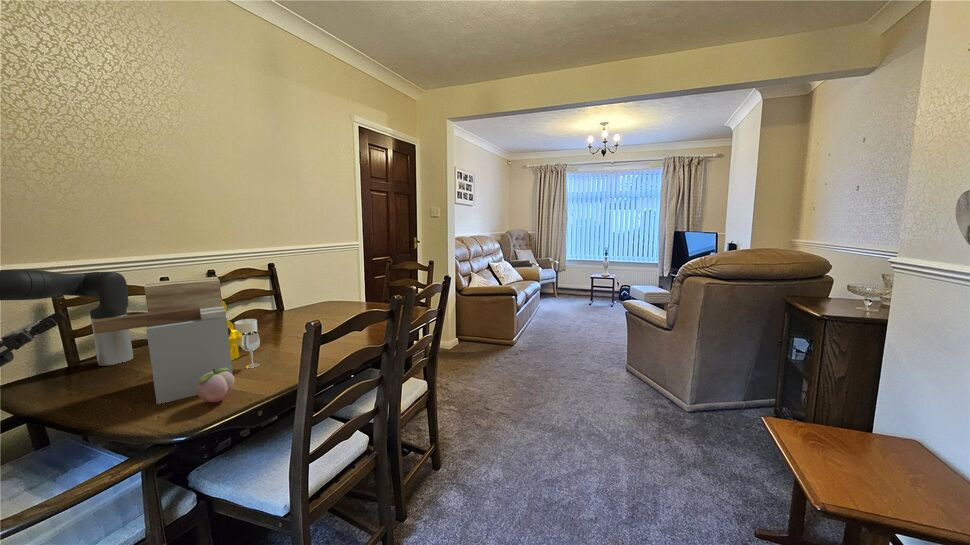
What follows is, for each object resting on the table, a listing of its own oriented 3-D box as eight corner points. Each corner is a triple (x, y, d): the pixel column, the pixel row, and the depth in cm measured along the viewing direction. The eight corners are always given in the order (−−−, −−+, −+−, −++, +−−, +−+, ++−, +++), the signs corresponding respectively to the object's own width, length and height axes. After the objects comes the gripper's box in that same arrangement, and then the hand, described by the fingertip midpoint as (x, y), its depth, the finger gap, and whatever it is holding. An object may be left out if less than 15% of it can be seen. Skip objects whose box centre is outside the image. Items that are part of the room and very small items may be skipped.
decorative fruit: (214, 394, 109) (211, 362, 108) (241, 394, 109) (238, 362, 107) (188, 410, 100) (184, 375, 98) (218, 410, 100) (214, 375, 98)
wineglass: (239, 367, 129) (235, 334, 127) (254, 362, 134) (251, 330, 132) (250, 370, 126) (247, 336, 125) (265, 364, 132) (262, 331, 130)
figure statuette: (205, 369, 128) (198, 307, 124) (195, 364, 132) (187, 305, 128) (258, 353, 143) (253, 298, 140) (247, 349, 147) (242, 295, 144)
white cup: (248, 348, 148) (245, 324, 147) (231, 347, 150) (229, 323, 148) (263, 342, 156) (261, 319, 154) (247, 341, 157) (245, 318, 156)
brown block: (98, 328, 100) (96, 317, 100) (223, 312, 118) (222, 302, 117) (93, 335, 94) (91, 323, 93) (226, 317, 112) (225, 307, 111)
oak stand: (159, 379, 120) (146, 282, 115) (226, 365, 131) (217, 276, 127) (158, 389, 112) (144, 286, 108) (229, 373, 124) (219, 280, 119)
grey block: (158, 393, 110) (148, 322, 107) (230, 376, 121) (223, 312, 118) (156, 404, 103) (146, 328, 100) (233, 386, 114) (226, 317, 111)
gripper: (-59, 359, 78) (37, 311, 86) (-30, 342, 89) (52, 301, 97) (-24, 383, 81) (65, 335, 89) (0, 364, 92) (77, 322, 100)
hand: (58, 317), depth 93 cm, fingers open, 8 cm apart
